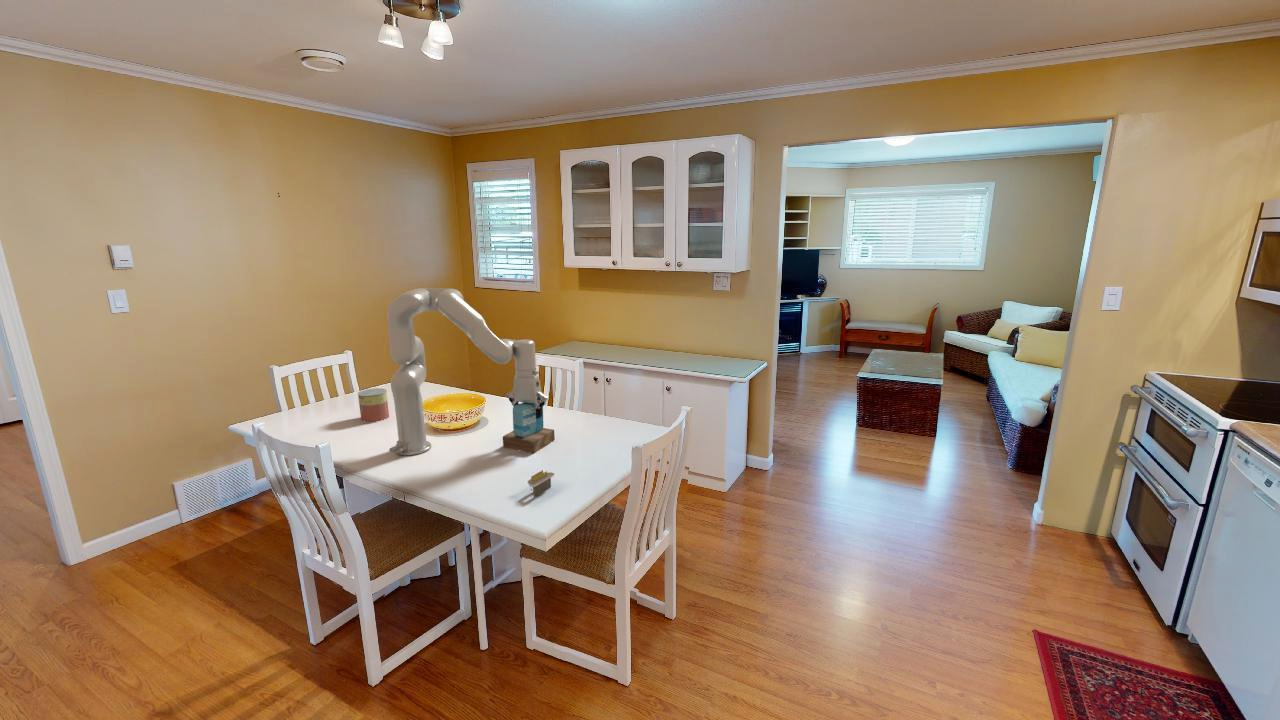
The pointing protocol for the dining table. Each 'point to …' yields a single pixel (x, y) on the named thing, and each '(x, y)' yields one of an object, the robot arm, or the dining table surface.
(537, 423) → the blue flat box
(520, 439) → the walnut base block
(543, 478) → the platform
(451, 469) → the dining table surface
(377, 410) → the canned food
